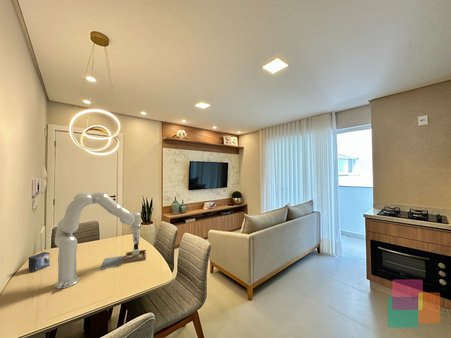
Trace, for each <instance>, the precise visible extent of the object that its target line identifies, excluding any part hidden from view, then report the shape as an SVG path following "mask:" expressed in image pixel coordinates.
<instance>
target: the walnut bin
mask: <svg viewBox="0 0 451 338" xmlns="http://www.w3.org/2000/svg"><path fill="white" fill-rule="evenodd" d="M146 259H147V249H141V250H140V249H139V257H138V258H132V251H126V253H125V255H124V258H123V261H124V262H123V263H124V264H128V263H134V262H135V263H136V262H142V261H146Z"/></svg>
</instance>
